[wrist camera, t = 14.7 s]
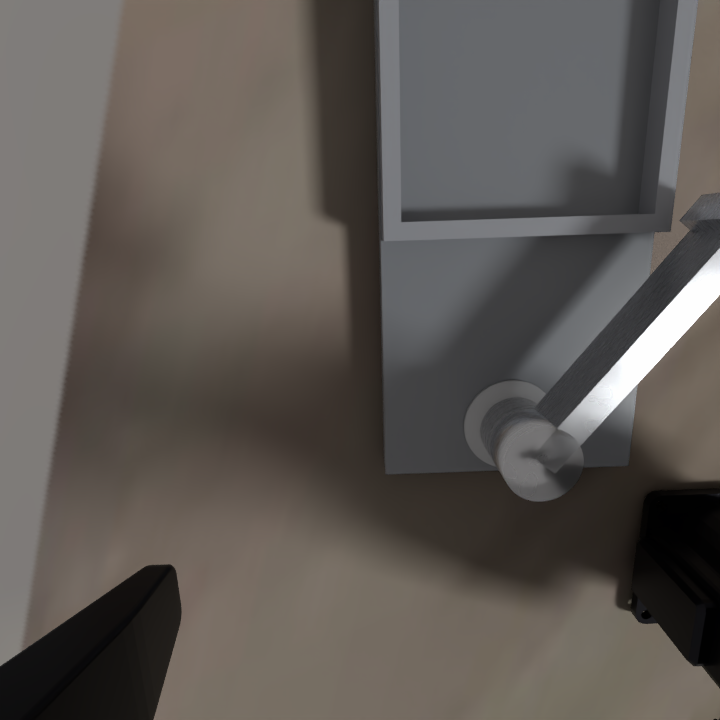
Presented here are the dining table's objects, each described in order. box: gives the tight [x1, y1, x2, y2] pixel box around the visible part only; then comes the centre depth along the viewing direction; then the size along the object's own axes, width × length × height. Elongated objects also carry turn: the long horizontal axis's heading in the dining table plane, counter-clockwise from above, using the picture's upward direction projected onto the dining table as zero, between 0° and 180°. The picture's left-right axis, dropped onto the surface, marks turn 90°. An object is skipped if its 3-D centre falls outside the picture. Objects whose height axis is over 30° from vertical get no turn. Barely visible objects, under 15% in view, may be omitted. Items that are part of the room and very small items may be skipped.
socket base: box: [374, 0, 698, 474], centre depth 17 cm, size 10×25×2 cm, turn 2°
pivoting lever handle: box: [480, 193, 720, 502], centre depth 17 cm, size 3×11×3 cm, turn 143°
